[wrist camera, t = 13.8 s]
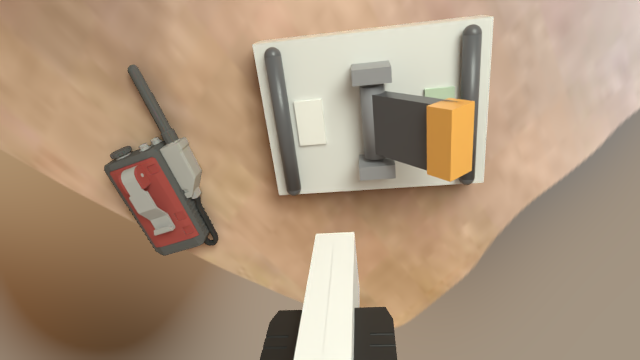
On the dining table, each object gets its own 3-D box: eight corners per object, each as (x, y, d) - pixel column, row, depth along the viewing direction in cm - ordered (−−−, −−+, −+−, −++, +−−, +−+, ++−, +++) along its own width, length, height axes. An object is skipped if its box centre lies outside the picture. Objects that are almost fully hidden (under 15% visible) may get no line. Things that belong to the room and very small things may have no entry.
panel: (260, 40, 35) (242, 49, 30) (482, 14, 33) (506, 19, 28) (284, 182, 41) (273, 210, 36) (475, 169, 39) (493, 197, 33)
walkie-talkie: (238, 231, 45) (147, 58, 38) (226, 254, 41) (122, 66, 34) (172, 250, 47) (73, 90, 39) (154, 274, 43) (41, 100, 35)
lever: (352, 87, 32) (452, 102, 25) (374, 81, 33) (475, 93, 26) (357, 157, 34) (450, 188, 27) (377, 148, 36) (471, 176, 28)
